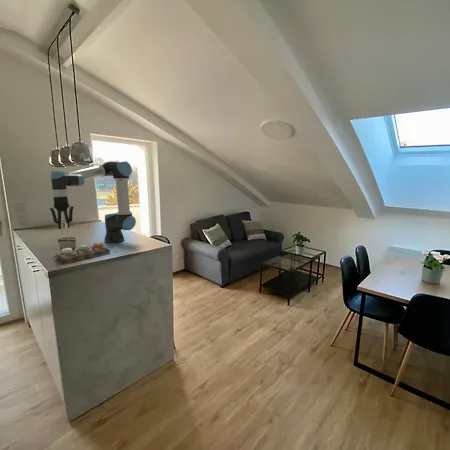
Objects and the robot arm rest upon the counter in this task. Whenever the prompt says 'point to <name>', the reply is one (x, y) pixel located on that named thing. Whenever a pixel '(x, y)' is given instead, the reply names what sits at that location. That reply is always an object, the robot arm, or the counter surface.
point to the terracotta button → (98, 244)
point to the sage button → (83, 247)
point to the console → (82, 254)
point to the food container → (67, 243)
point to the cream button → (66, 250)
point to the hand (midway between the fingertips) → (64, 233)
